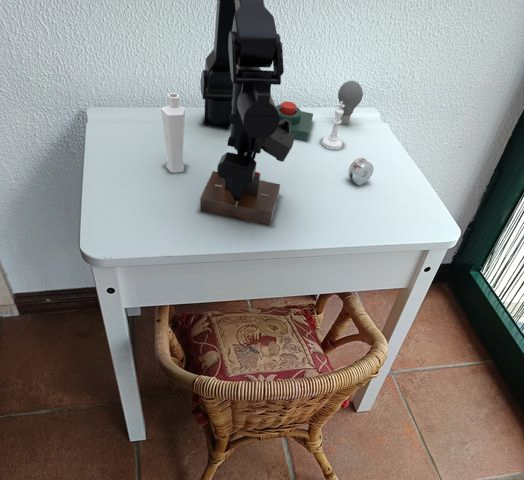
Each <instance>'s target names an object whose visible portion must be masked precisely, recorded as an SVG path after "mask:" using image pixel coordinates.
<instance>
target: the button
mask: <svg viewBox="0 0 524 480" xmlns="http://www.w3.org/2000/svg"><path fill="white" fill-rule="evenodd" d="M280 104H281V110H280V112H281V113H283V114H286V115H294V114H295V111H296V107H297V105H296V103H294V102H292V101H282V102H281V103H280Z"/></svg>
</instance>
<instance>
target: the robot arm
mask: <svg viewBox="0 0 524 480" xmlns="http://www.w3.org/2000/svg"><path fill="white" fill-rule="evenodd" d="M215 11H216V12H215V13H216V14H215V24H214V25H215V27H214V41H213V49H212V50H211V51H210V53H209V54H208V55H207V56H206V57H205V65H204V69H202V71H201V76H200V79H199V80H200V82H199V83H200V94H201V97H202V100H204V119H203V120H202V125H203V126H208V127H212V128H217V129H223V130H230V135H229V137H228V138H227V147H231V148H234V150H235V151H236V152H235V153H234V152H229V151H227V152H226V153H224V154H223V155H221V158H220V159H219V162H218V164H217V169H216V170H217V171H216V172H217V176H218V177H219V178H224V180H225V182H226V183H227V185H228V187H229V190H230V192H231V194H232V196H233V198H234V200H235V201H240V199H241V196H242V193H243V190H244V186H245V183H252V181H253V178H254V175H255V173H256V172H257V171H256V170H257V164H258V163H257V161H256V160H255V159H256V156H257V154H261V152H262V151H263V152H264V153H267V154H268V155H269V156H272V157H273V158H275V159H276V160H277V161H279V162H281V163H282V162H285V160H286V158H287V156H288V155H289V153H290V152H291V150H292V148H293V145H294V141H295V139H294V136H293V134H294V133H291V134H290V132H291V122H290V121H288V120H287V119H285V118H284V119H283V120H281V121H280V118H279V113H278V111H277V108H276V106H277V105H276V104H275V100H274V99H273V96H272V94H271V93H272V92H271V89H272V85H274V86H280V85H281V84H282V76H283V74H284V72H285V69H284V51H283V42H282V41H281V36H280V34H279V33H278V32H277V27H276V21H275V17H274V15H273V13H271V12H270V11H269V10H268V9H267V8H266V6H265V1H264V0H216V10H215ZM272 66H273V70H263V69H262V68H266V69H270V68H271V67H272ZM279 121H280V122H279Z"/></svg>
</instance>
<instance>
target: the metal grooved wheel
mask: <svg viewBox="0 0 524 480" xmlns="http://www.w3.org/2000/svg"><path fill="white" fill-rule="evenodd" d="M373 173H374V165H373V164H372V163H371V162H370V161H368V160H367V159H366V158H364V157H359V158H356V159H355V160H353V161H352V162H351V164H350V165H349V167H348V170H347V176H348V178H349V179H350V180H351V181H353V182H354V183H355V184H356V185H357V186H362V185H364V184H366V183H367V182H368V181H369V180H370V179H371V177H372V176H373Z"/></svg>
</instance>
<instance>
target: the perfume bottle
mask: <svg viewBox="0 0 524 480" xmlns="http://www.w3.org/2000/svg"><path fill="white" fill-rule="evenodd" d="M179 97H180V94H178V93H175V92H170V93H168V94H167V99H168V105H165V106H164V107H161V116H162V117H161V118H162V126H163V133H164V142H165V148H166V150H165V151H166V158H167V161H166V166H165V167H166V169H167V170H168V171H169V172H170V173H173V174H174V173H183V172H184V169H185V163H184V160H183V159H184V140H185V121H186V119H185V118H186V107H184V106H182V105H180V104H179Z"/></svg>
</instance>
